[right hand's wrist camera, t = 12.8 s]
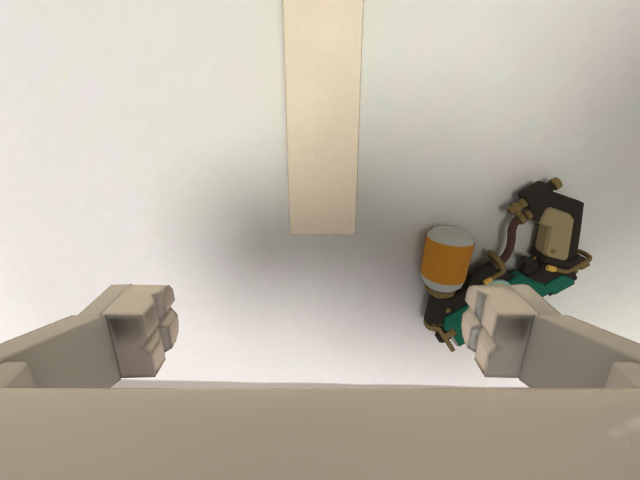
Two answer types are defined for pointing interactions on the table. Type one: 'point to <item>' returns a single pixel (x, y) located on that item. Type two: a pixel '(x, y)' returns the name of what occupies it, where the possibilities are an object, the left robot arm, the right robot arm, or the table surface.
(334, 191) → the beam
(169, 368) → the table surface
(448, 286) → the spray gun
